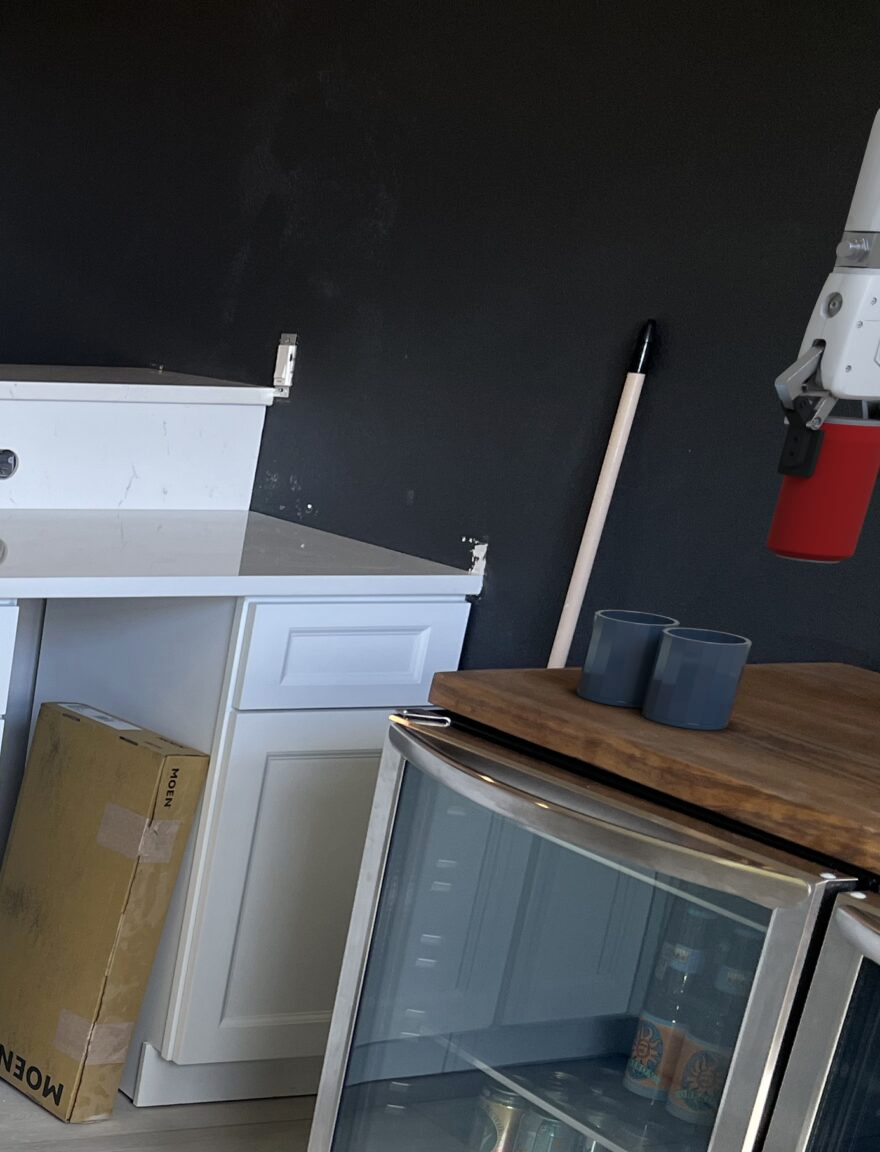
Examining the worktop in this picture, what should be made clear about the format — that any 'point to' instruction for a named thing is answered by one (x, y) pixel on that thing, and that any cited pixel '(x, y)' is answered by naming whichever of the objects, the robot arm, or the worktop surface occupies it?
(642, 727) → the worktop surface
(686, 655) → the tumbler mid
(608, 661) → the tumbler far
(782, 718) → the worktop surface
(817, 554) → the beverage can
